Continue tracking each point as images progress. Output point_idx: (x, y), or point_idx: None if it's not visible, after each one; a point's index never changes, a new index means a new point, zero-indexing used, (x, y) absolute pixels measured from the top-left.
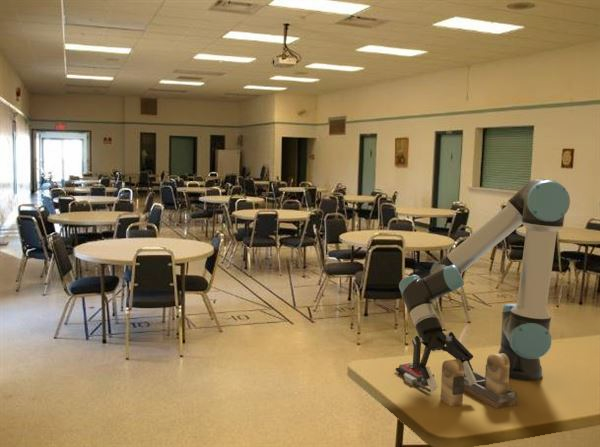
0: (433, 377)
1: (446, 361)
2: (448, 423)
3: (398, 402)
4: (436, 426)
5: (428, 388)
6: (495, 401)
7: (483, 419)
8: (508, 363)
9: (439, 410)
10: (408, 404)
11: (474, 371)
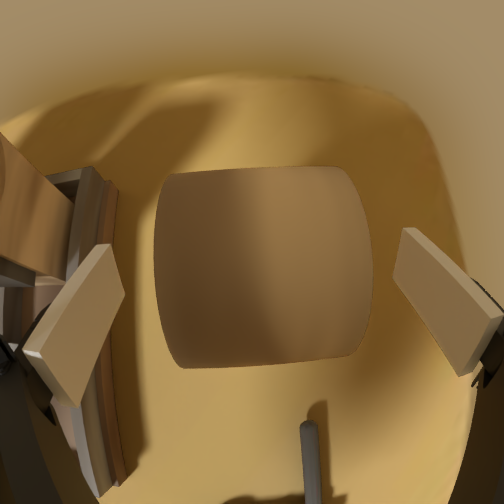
0: (438, 259)
1: (368, 259)
2: (367, 143)
3: None
4: (409, 143)
5: (308, 439)
6: (102, 190)
7: (230, 129)
8: None
9: None
10: None
11: None
